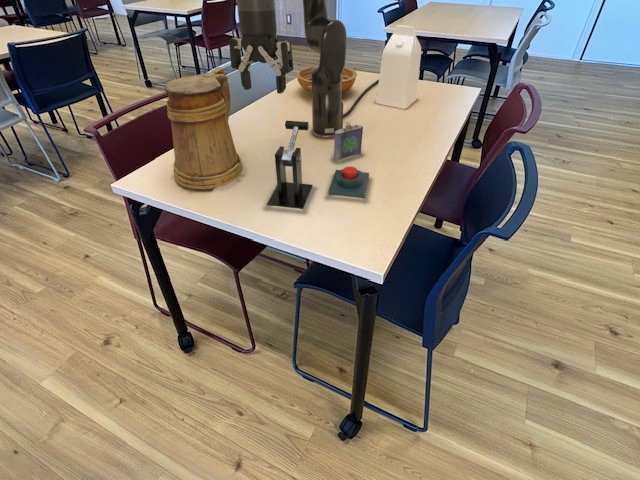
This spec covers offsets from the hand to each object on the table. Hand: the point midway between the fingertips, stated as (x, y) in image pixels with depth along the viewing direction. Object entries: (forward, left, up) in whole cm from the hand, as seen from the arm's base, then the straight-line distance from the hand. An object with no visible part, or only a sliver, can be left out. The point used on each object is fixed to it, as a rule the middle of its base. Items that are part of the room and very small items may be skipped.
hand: (264, 90), depth 86 cm
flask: (-25, +4, -24) cm, 35 cm away
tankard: (+7, -17, -24) cm, 30 cm away
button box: (-13, +16, -24) cm, 32 cm away
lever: (-2, +6, -12) cm, 14 cm away
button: (-13, +16, -20) cm, 29 cm away
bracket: (+1, +9, -24) cm, 26 cm away
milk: (-73, -15, -24) cm, 78 cm away
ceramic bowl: (-60, -41, -24) cm, 76 cm away
